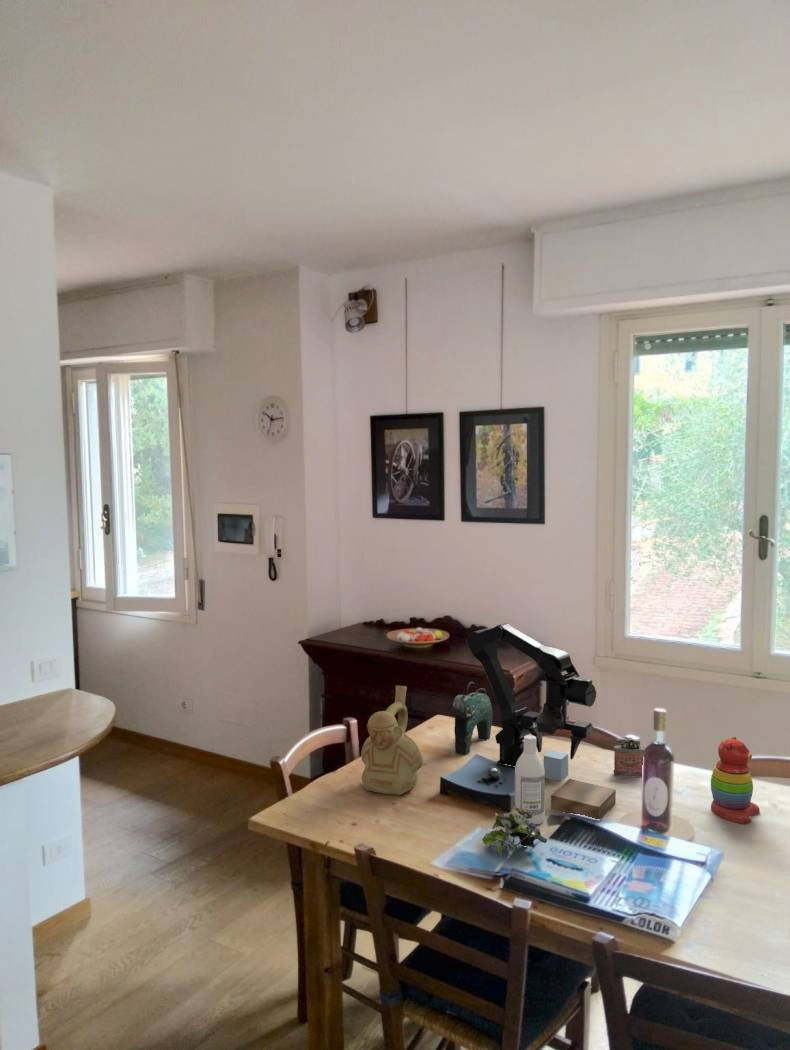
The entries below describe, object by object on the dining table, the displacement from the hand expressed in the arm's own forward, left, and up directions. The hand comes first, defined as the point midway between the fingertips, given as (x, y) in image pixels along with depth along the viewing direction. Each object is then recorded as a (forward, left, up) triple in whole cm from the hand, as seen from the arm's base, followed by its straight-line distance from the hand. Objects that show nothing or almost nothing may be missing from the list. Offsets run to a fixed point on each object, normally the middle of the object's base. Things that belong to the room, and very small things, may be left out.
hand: (555, 755), depth 209 cm
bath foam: (+5, -28, -6) cm, 29 cm away
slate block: (0, 0, -6) cm, 6 cm away
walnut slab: (+13, -14, -6) cm, 20 cm away
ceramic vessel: (-33, -30, -6) cm, 45 cm away
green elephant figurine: (-30, +8, -6) cm, 31 cm away
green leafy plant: (+9, -45, -6) cm, 46 cm away
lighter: (+16, +12, -6) cm, 21 cm away
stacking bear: (+44, +3, -6) cm, 45 cm away
